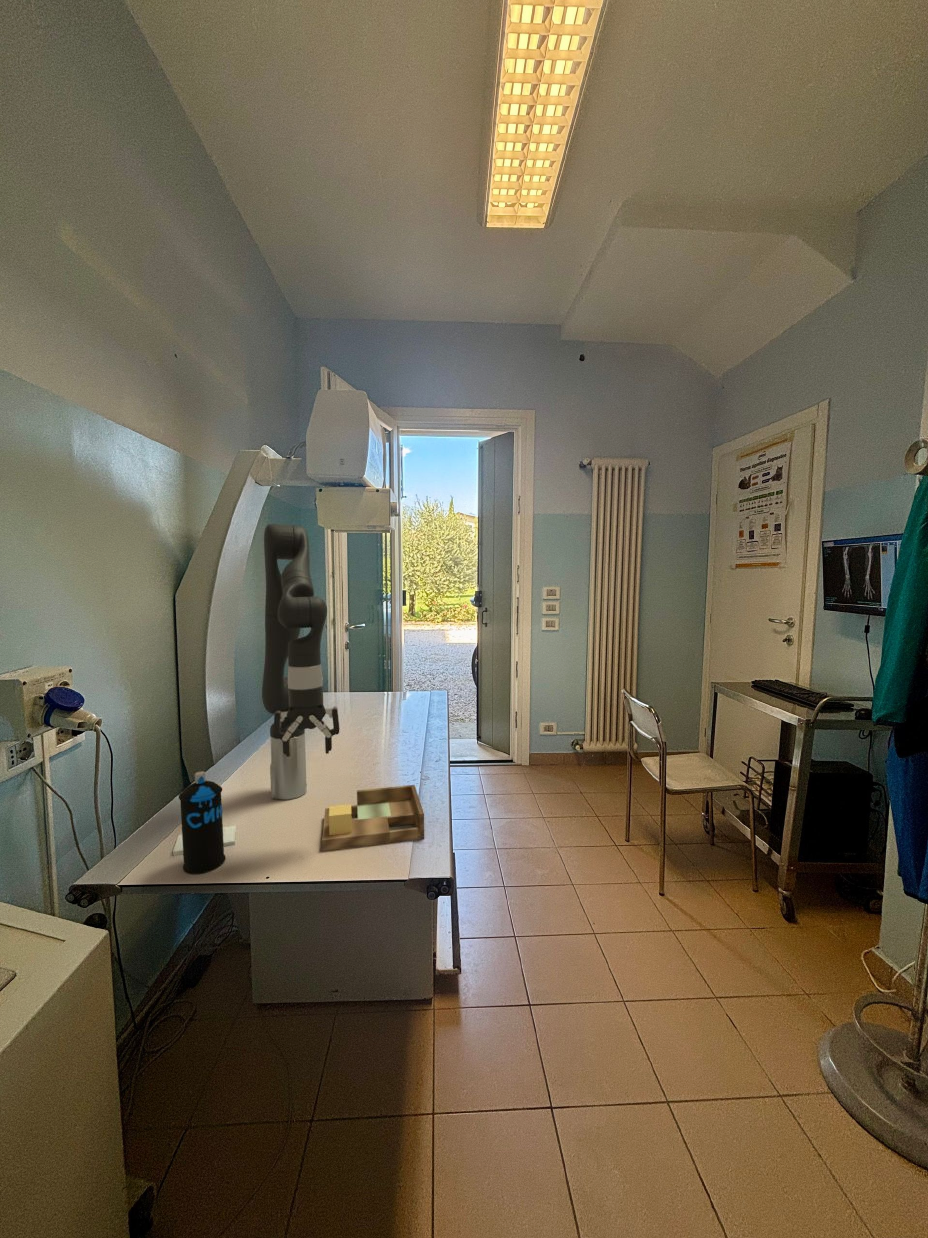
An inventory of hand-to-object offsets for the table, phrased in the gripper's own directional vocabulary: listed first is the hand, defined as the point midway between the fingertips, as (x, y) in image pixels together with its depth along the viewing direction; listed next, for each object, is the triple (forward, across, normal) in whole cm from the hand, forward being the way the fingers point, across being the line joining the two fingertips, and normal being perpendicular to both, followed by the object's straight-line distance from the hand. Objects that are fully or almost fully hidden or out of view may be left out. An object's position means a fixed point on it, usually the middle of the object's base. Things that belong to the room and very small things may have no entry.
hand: (308, 754), depth 116 cm
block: (+18, +7, -1) cm, 19 cm away
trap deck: (+21, +14, +3) cm, 25 cm away
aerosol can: (+21, -22, -4) cm, 30 cm away
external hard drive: (+21, -24, +5) cm, 32 cm away
